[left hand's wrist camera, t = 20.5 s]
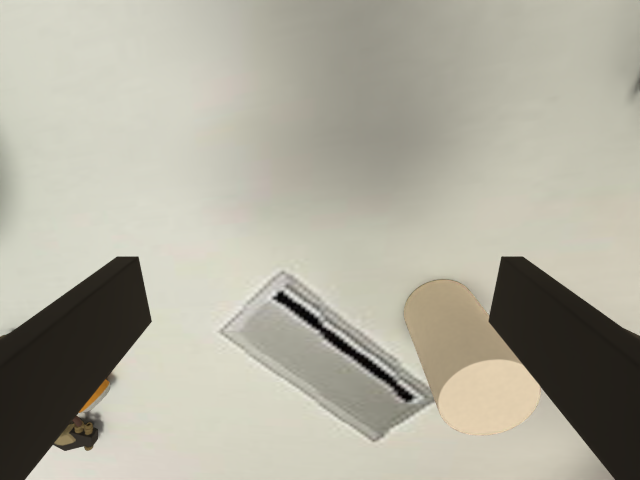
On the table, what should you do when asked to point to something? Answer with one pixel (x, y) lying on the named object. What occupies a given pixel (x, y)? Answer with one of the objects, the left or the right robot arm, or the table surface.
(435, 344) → the canister
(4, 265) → the table surface
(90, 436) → the spray gun
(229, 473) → the table surface
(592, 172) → the table surface
